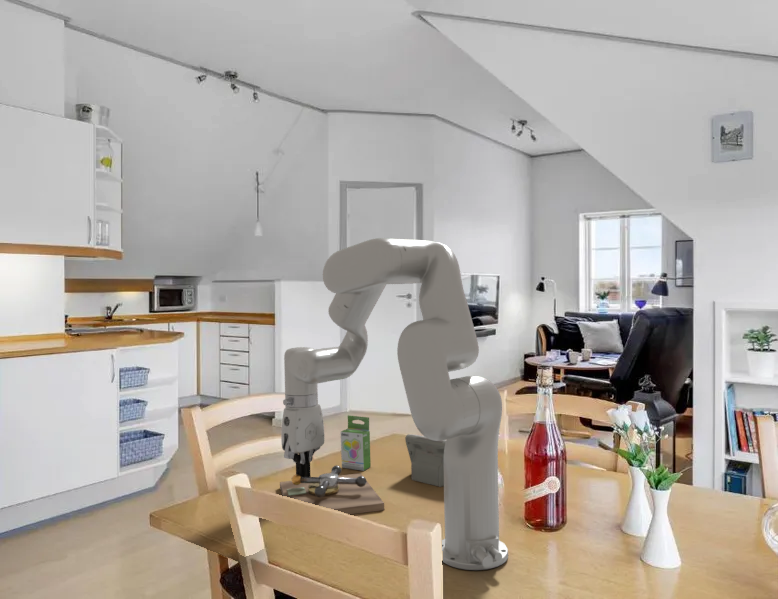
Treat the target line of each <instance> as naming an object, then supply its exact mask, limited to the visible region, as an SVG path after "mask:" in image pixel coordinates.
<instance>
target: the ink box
mask: <svg viewBox="0 0 778 599" xmlns="http://www.w3.org/2000/svg"><path fill="white" fill-rule="evenodd" d="M353 421H362V422H363V423H355V422H353ZM370 432H371V431H370V417H368V416H367V417H366V416H357V415H349V414H348V415H347V428H346V429H343V430H340V454H341V469H347V470H348V469H349V470H357V471H361V472H362V471H363V472H364V471H367V470H368V469H370V468H371V462H372V461H371V438H370V437H371V435H370V434H371V433H370Z"/></svg>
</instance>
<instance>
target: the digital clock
mask: <svg viewBox="0 0 778 599" xmlns="http://www.w3.org/2000/svg"><path fill="white" fill-rule="evenodd" d="M404 439H405V446H406V448H407V452H408V456H409V459H410V463H411V467H410V469H411V471H410V472H411V473H410V474H411V475H410V476H411V481H414V482H418V483H419V482H420V483H423V484H426V485H430V486H435V487H439V488H441V487H444V448H445V443H446V440H443V441H434V440H430V439H428V438H426V437H425V436H423V435H419V434H413V433H412V434H409V433H408V434H406V435H405V438H404Z"/></svg>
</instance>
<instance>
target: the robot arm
mask: <svg viewBox="0 0 778 599" xmlns="http://www.w3.org/2000/svg"><path fill="white" fill-rule="evenodd" d="M322 280H323V281H322V282H323V284H324V286H325V288H327V290H328V291H330V292H331V293H334V296H333V298H332V301H331V303H330V304H329V307H328V312H327V313H328V315H329V317H330V319H331V321H332V322H333V323H335V324H336V325H337V326H338V327H339V328H341V329H343V330H345V331H346V332H345V335H344V337H343V339H342V341H341V343H340V344H339V346H333V347H323V348H319V349H317V348H316V349H314V348H313V347H307V346H304V347H302V346H300V347H291V348H288V349H286V350H285V352H284V355H283V356H284V358H283V360H284V363H283V364H284V366H283V367H284V369H283V370H284V399H283V400H282V402H283V405H284V406H285V407H284V408H283V413H282V420H281V421H282V422H281V433H280V434H281V438H280V439H281V449H282V450H283V451H284V452H283V453H284V454H283V458H284V459H288V460H292V461H293V463H295V475H296V474H299V475H300V476H301V477H312V476H311V462H312V461H313V459H314V458H313V456H314V454H315V453H316V452H317V451H319V450H320V449H321V447H322V446H323V445H324V444H325V425H324V424H325V423H324V417H323V412H322V411H323V410H322V408H321V405H320V404H319V394H318V384H321V383H322V384H323V383H327V382H333V381H342V380H345V379H348V378H350V377H351V376H353V374H354V373H355V372H356V371H357V370H358V368H359V366H361V363H362V361H363V359H364V357H365V355H366V353H367V351H368V345H369V344H368V342H369V340H368V336H369V335H368V331H367V328H366V323H367V321H368V319H369V318H370V316H371V314H372V312H373V309H375V306H376V304H377V303H378V301H379V299H380V297H381V296H382V293H383V292H384V289H385V288H386V286H387V285H405V284H409V285H410V284H421V285H420V288H419V293H418V304H419V309H420V311H421V316H422V319H421V320H416V321H413V322H411V323H410V324H408V325H406V327H405V328H403V330H402V332H400V335H399V338H398V342H397V350H396V351H397V360H398V361H397V362H398V364H399V370H400V374H401V375H400V376H401V378H402V382H403V387H404V391H405V394H406V399H407V402H408V406H409V407H408V408H409V411H410V414H411V418H412V420H413V423H414V425H415V426H416V428H417V430H418V431H419V433H420V434H421V436H425V437H426V438H428V439H430V440H434V441H443V440H446V443H445V448H444V486H443V504H444V505H443V506H444V507H443V508H444V511H443V512H444V538H443V539H442V540H441V541H442V551H443V562H442V563H444V564H445V565H447V566H449V567H452V568H456V569H460V570H466V571H482V570H483V571H485V570H490V569H494V568H497V567H500V566H501V565H503V564H505V563H506V562H507V561H508V559H509V548H508V547H507V545H506V544H505V542H503V541H501V540H500V526H499V525H500V524H499V519H500V518H499V514H500V513H499V512H500V511H499V470H498V469H499V459H498V457H499V454H498V453H499V448H498V447H499V434H500V430H501V421H502V413H503V400H502V397H501V394H500V391H499V389H498V388H497V385H495V384H494V383H493V382H492V381H490V380H489V379H487V378H486V377H483V376H478V375H468V376H461V377H456V378H452V379H451V378H450V375H449V373H450V372H455V371H460V370H463V369H466V368H469V367H470V366H472V365H473V364H474V363H475V362H476V361H477V360H478V357H479V352H480V349H479V340H478V337H477V334H476V330H475V326H474V323H473V320H472V315H471V311H470V308H469V305H468V300H467V298H466V294H465V291H464V285H463V281H462V275H461V268H460V265H459V261H458V258H457V257H456V254H455V253H454V251H453V250H452V249H451V248H450V247H448V246H447V245H446V244H443V243H441V242H438V241H433V240H427V239H426V240H425V239H424V240H423V239H414V238H413V239H412V238H392V237H391V238H389V237H378V238H372V239H368V240H364V241H362V242H358V243H357V244H353V245H351V246H348V247H345V248H342V249H339V250H337V251H336V252H334V253H332V254H331V255H330V256H329V257H328V259H327V260H326V261H325V263H324V266H323V270H322Z"/></svg>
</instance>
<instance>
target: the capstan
mask: <svg viewBox="0 0 778 599" xmlns="http://www.w3.org/2000/svg"><path fill="white" fill-rule="evenodd" d="M341 475H342V466H340V465H337V464H335V465H334V466H332V468H331V472H329V473H328V472H327V473H322V474H319V475H318V476H311V477H301V476H300V475H299V474H296V473H295V474H293V476H291V481H292V483H293V484H294V485H299V484H301V483H311V484H310V485H309V486H308V492H309V493H311V494H313V495H316V496H317V497H319V498H321V497H323V496H324V495H330V494H334V493H336V492H338V491H339V484H354V485H357V486H359V487H363V486H365V485H366V481H367V478H366V477H365V476H364V475H363V476H359V477H357V478H338V476H341Z"/></svg>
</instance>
